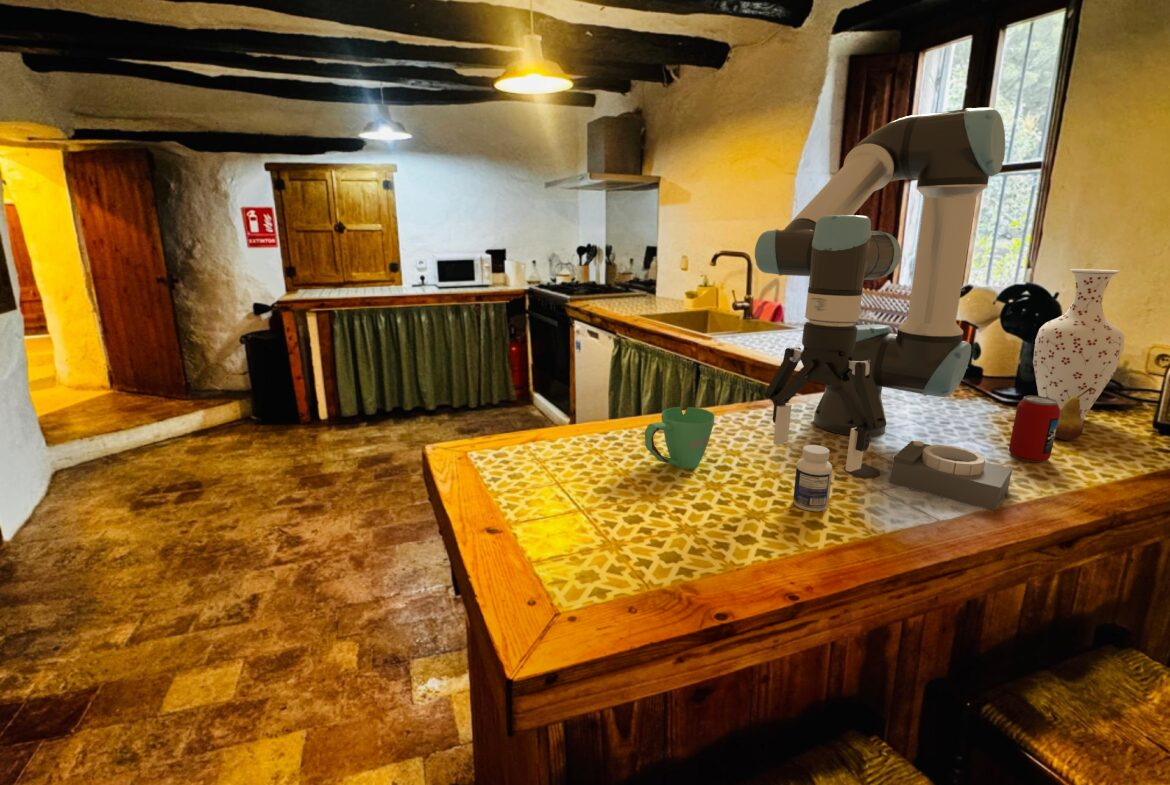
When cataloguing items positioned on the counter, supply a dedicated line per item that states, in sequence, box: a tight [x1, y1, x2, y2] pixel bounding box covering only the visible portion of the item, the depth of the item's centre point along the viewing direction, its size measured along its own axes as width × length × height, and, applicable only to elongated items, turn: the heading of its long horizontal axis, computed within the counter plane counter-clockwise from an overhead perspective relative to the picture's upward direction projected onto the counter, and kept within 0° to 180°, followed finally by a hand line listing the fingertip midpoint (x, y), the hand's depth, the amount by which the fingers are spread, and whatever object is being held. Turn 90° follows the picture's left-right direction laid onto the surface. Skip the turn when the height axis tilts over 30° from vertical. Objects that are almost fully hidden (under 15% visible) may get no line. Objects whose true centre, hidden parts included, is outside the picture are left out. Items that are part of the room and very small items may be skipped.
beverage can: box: [1008, 395, 1060, 463], centre depth 118 cm, size 7×7×12 cm
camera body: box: [889, 440, 1013, 512], centre depth 105 cm, size 16×11×6 cm
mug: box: [644, 406, 715, 470], centre depth 112 cm, size 15×10×10 cm
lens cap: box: [843, 463, 881, 479], centre depth 112 cm, size 6×6×1 cm
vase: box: [1032, 268, 1125, 422], centre depth 140 cm, size 16×16×35 cm
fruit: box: [1055, 387, 1092, 442], centre depth 128 cm, size 6×6×12 cm
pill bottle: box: [792, 444, 833, 512], centre depth 97 cm, size 5×5×10 cm
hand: (814, 455), depth 95 cm, fingers open, 13 cm apart
